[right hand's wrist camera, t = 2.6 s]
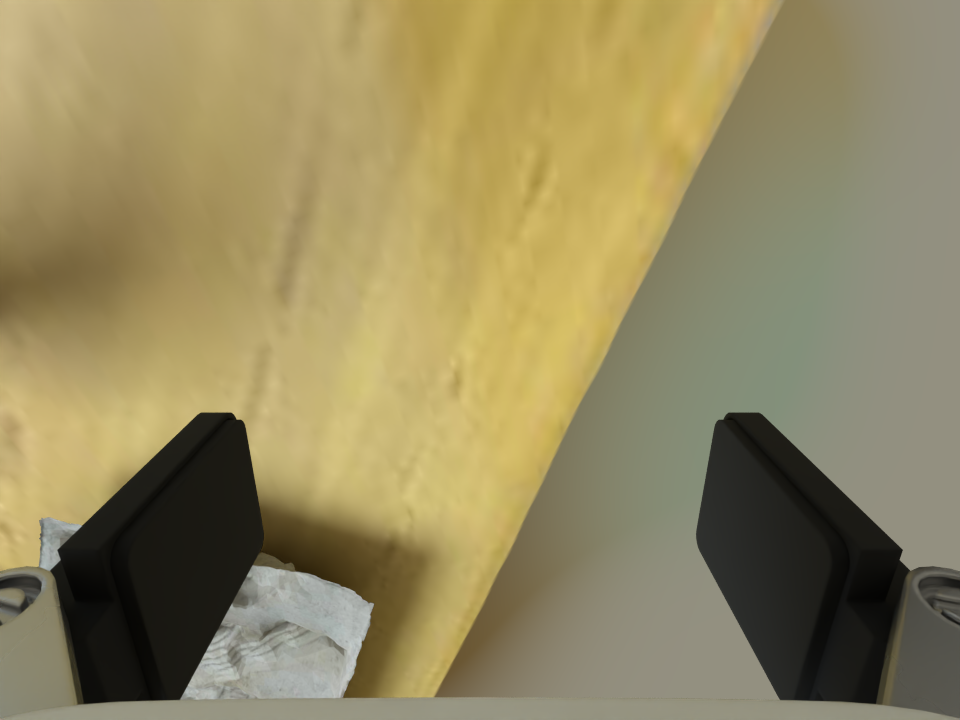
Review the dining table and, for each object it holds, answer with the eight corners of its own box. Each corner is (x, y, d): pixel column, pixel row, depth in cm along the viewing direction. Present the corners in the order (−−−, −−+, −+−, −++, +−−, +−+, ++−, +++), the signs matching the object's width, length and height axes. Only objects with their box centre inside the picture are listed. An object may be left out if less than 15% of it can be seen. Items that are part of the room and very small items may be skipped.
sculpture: (50, 738, 63) (307, 802, 65) (6, 795, 57) (288, 863, 60) (76, 465, 51) (391, 557, 53) (23, 503, 45) (378, 604, 47)
